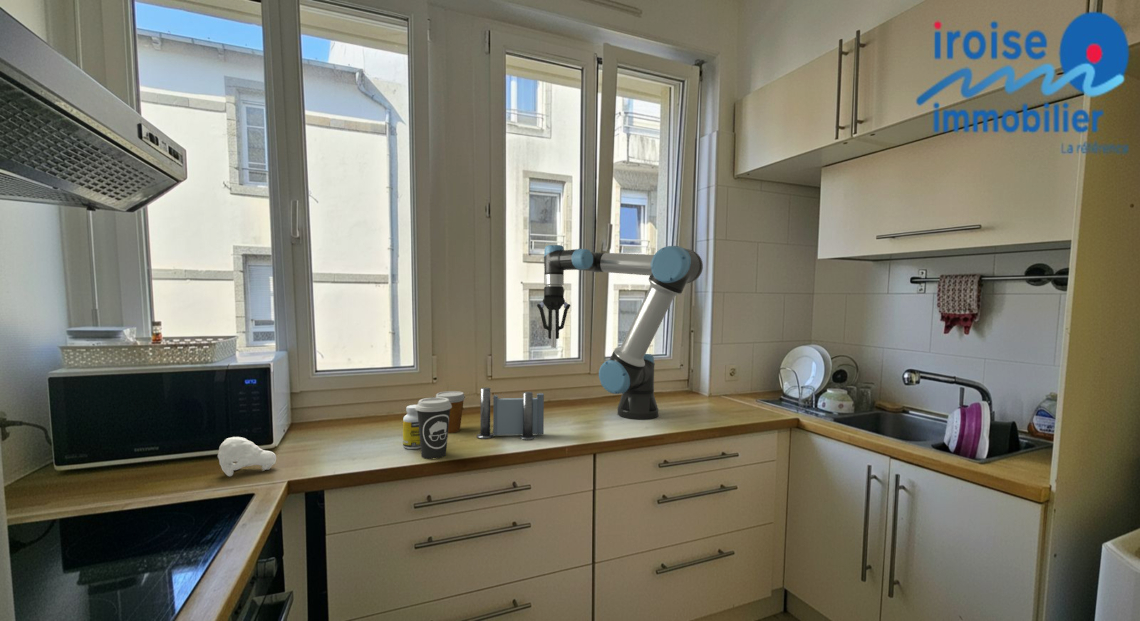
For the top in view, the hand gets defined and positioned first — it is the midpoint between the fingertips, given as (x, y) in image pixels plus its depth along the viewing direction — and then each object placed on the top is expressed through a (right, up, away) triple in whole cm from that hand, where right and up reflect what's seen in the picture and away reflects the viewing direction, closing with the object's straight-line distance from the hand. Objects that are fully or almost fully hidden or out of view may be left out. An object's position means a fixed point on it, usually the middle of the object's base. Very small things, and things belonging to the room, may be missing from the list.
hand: (553, 347), depth 180 cm
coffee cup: (-31, -26, -52) cm, 66 cm away
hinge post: (-20, -25, -35) cm, 47 cm away
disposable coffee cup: (-33, -25, -28) cm, 50 cm away
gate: (-10, -24, -33) cm, 43 cm away
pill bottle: (-39, -25, -45) cm, 64 cm away
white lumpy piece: (-73, -26, -65) cm, 101 cm away
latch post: (-7, -25, -36) cm, 44 cm away
